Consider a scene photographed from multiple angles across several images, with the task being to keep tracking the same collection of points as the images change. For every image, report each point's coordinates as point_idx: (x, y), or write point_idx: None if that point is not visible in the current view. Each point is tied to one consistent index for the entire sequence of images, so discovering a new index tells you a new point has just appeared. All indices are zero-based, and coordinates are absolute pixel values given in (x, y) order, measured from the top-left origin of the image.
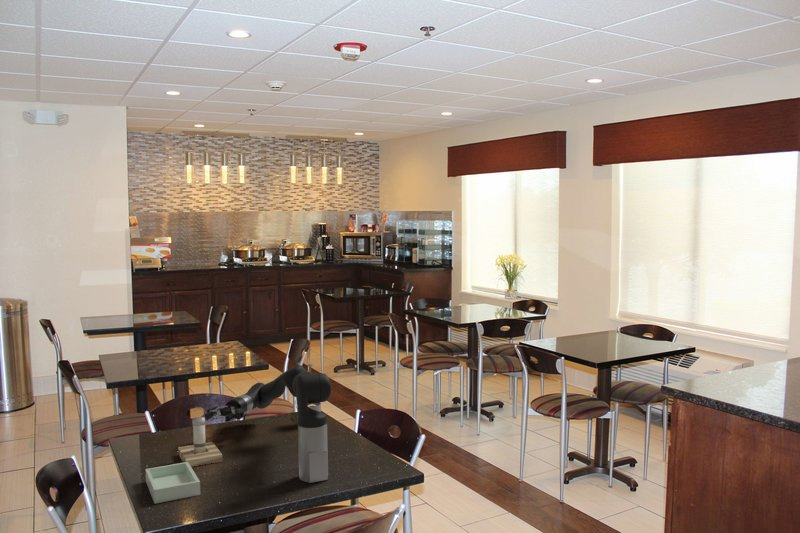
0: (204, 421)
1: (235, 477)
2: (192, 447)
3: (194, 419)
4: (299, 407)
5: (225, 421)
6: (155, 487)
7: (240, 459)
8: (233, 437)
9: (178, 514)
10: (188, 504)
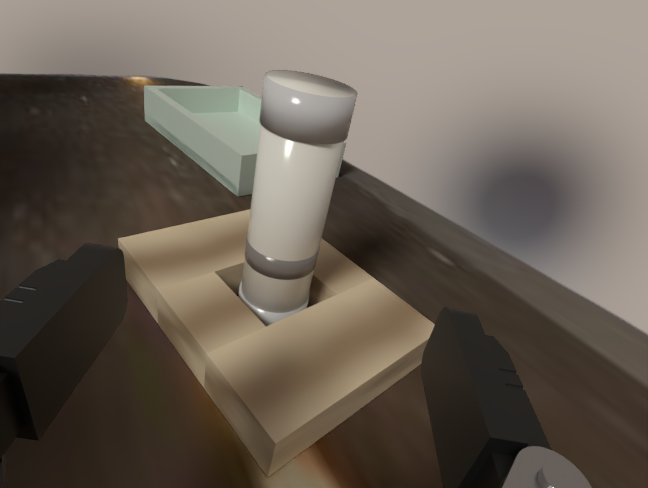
0: (262, 96)
1: (40, 163)
2: (355, 327)
3: (330, 80)
4: None
5: (125, 305)
6: (246, 90)
7: (3, 293)
8: None
9: None
10: None
